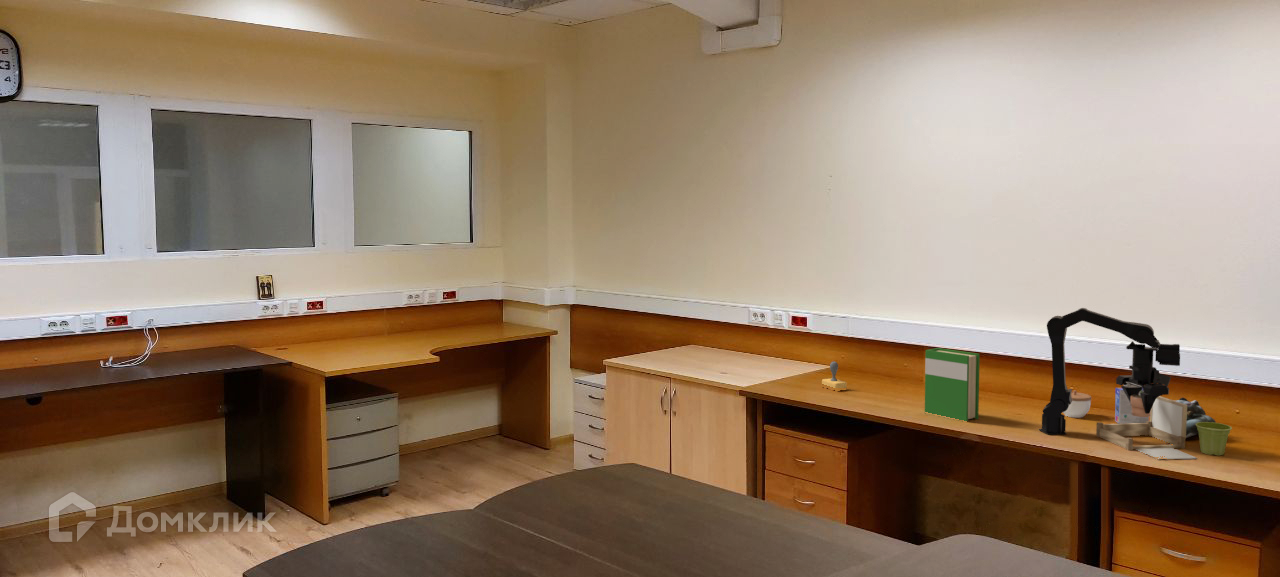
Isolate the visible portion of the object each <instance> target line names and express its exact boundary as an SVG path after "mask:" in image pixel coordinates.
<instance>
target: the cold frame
mask: <svg viewBox="0 0 1280 577" xmlns="http://www.w3.org/2000/svg"><path fill="white" fill-rule="evenodd" d="M1095 434H1096V435H1095V437H1098V438H1100V439H1103V440H1106V441H1107V442H1109V443H1112V444H1115V445H1116V446H1119V447H1121V448H1124V449H1125V448H1126V449H1125V450H1127V449H1128V450H1127V451H1134V450H1133V449H1152V448H1177V449H1180V448H1183V449H1186V447H1185V446H1186V439H1185V437H1182V436H1175V435H1172V434H1170V433H1167V432H1165V431H1162V430H1159V429H1157V428H1154V427H1152V422H1150V420H1149V421H1146V423H1127V424H1119V423H1103V422H1096V433H1095ZM1140 435H1145V436H1148V435H1149V437H1151V436H1152V438H1154V437H1155V438H1154V439H1156V438H1157V440H1159V439H1160V440H1159V441H1161V440H1163V441H1162V442H1164V441H1165V442H1164V443H1166V442H1168V443H1170V444H1168V443H1167V444H1155V445H1153V444H1151V445H1150V444H1148V445H1147V444H1145V445H1134V439H1133V438H1132V437H1135V436H1137V437H1139V436H1140ZM1171 444H1173V445H1171Z"/></svg>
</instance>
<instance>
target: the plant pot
mask: <svg viewBox="0 0 1280 577" xmlns="http://www.w3.org/2000/svg"><path fill="white" fill-rule="evenodd" d="M1196 426H1197V430H1198V432H1199V434H1198V440H1199V441H1198V442H1199V448H1200V449H1199V450H1200V452H1201V453H1202V454H1205V455H1209V456H1212V455H1215V456H1224V455H1225V452H1226V446H1227V442H1228V438H1229V435H1230V432H1231V430H1233V428H1232V426H1231V425H1228V424H1224V423H1222V422H1221V423H1220V422H1216V423H1214V422H1198V423H1196Z"/></svg>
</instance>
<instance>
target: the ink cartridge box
mask: <svg viewBox="0 0 1280 577" xmlns="http://www.w3.org/2000/svg"><path fill="white" fill-rule="evenodd" d="M1142 391H1143V389H1142ZM1114 393H1115V394H1114V395H1115V398H1114V399H1115V403H1114V406H1115V407H1114V409H1115V410H1114V412H1115V414H1114V421H1115V422H1116V424H1127V423H1146V421H1150V417H1138V416H1134V415H1131V410H1132V406H1131V405H1130V402H1129V400H1128V398H1127V396H1126V394H1125V392H1124V390H1123V389H1122V388H1121V387H1115V391H1114ZM1143 393H1144V391H1143ZM1139 395H1140V392H1139Z"/></svg>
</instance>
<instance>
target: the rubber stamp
mask: <svg viewBox="0 0 1280 577" xmlns="http://www.w3.org/2000/svg"><path fill="white" fill-rule="evenodd" d="M829 369H830V372H831V376H832V377H831V378H823V379H822V380H821V385H822V384H824V385H827V386H830V387H833V388H846V389H847V381H843V380H840V379H838V378H836V375H837V372H838V369H839V364H838V363H837V362H836V361H831V362H830V364H829Z"/></svg>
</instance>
